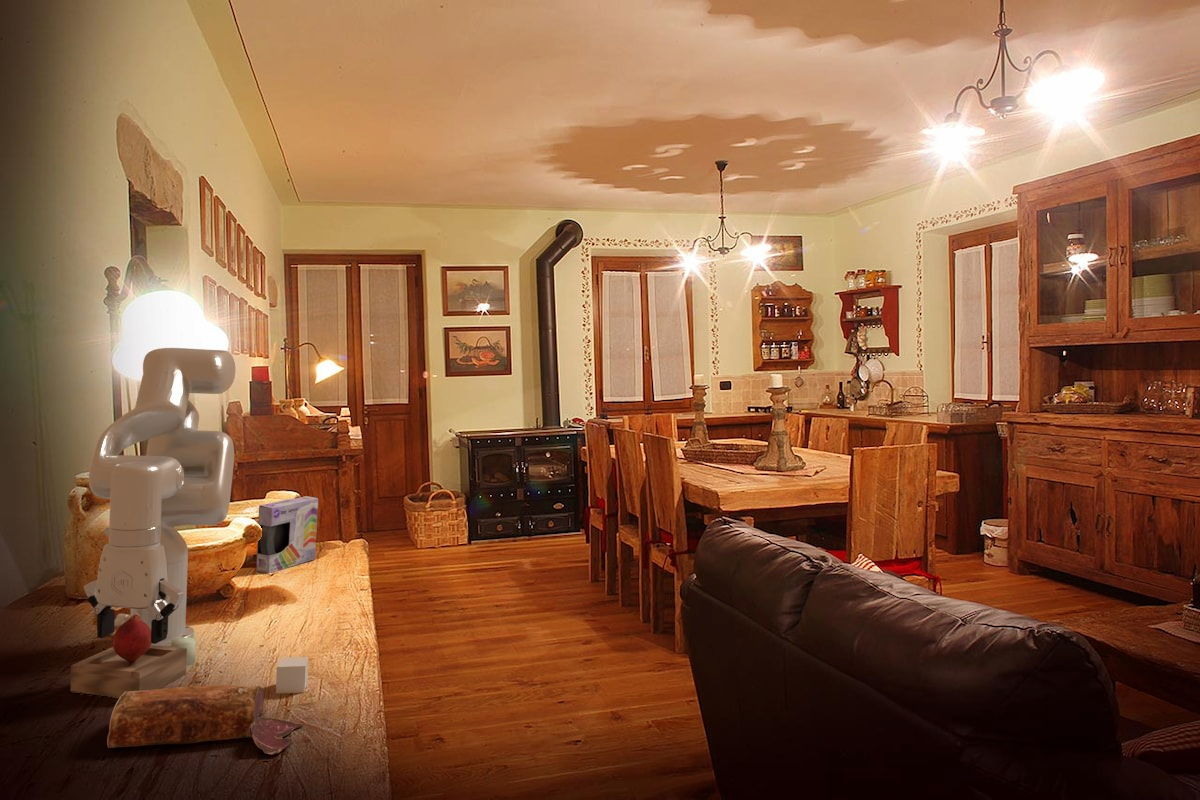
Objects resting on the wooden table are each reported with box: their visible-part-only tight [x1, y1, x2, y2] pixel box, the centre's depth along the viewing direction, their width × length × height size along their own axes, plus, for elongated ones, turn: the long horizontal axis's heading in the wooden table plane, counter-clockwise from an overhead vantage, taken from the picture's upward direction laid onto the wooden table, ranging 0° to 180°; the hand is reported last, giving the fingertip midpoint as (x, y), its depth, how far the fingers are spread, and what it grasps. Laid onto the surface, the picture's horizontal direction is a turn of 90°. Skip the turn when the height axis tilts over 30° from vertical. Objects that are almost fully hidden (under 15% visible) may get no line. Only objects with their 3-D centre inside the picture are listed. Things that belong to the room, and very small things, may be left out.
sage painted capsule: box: [170, 637, 197, 667], centre depth 150 cm, size 4×4×4 cm
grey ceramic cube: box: [275, 656, 310, 694], centre depth 141 cm, size 4×4×4 cm
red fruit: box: [112, 614, 152, 662], centre depth 140 cm, size 6×6×8 cm
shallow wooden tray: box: [69, 645, 187, 699], centre depth 140 cm, size 12×12×4 cm
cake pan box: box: [255, 495, 319, 574], centre depth 224 cm, size 19×5×18 cm, turn 159°
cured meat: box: [106, 684, 304, 756], centre depth 122 cm, size 18×25×7 cm
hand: (132, 638), depth 140 cm, fingers open, 9 cm apart
